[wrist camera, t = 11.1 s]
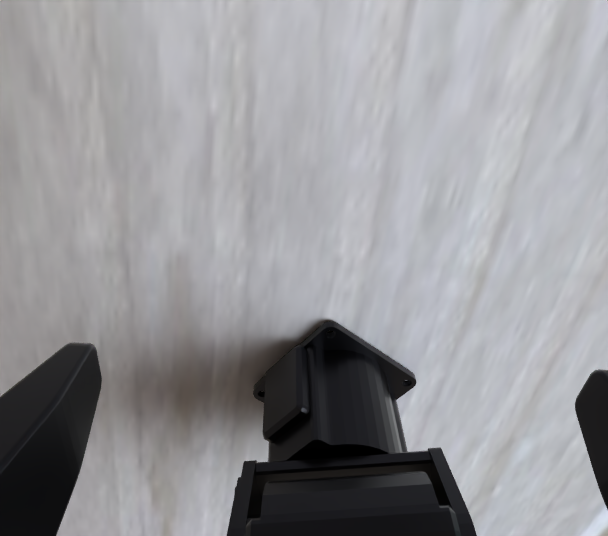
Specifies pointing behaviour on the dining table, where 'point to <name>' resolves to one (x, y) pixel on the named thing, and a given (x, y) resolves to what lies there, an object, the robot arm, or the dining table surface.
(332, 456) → the robot arm
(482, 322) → the dining table surface
